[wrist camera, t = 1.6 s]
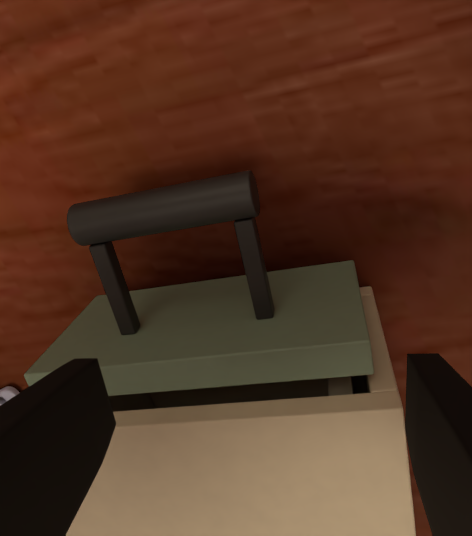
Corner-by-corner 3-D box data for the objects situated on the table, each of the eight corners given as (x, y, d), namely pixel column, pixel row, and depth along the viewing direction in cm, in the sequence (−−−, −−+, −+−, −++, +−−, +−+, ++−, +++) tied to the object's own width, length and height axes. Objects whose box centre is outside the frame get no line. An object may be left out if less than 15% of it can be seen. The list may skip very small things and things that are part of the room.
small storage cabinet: (104, 318, 22) (11, 434, 15) (371, 285, 19) (403, 408, 12) (183, 524, 28) (140, 677, 21) (399, 522, 25) (432, 699, 18)
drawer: (56, 190, 19) (-43, 241, 13) (337, 133, 16) (348, 168, 11) (176, 505, 26) (140, 619, 20) (385, 501, 23) (407, 630, 18)
